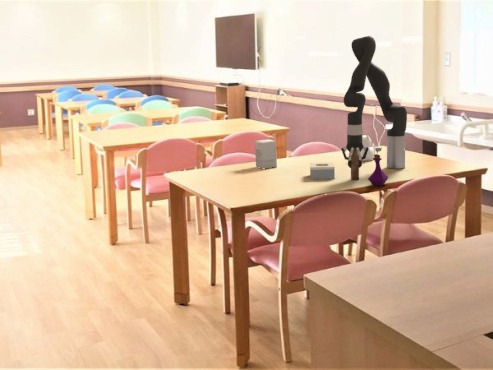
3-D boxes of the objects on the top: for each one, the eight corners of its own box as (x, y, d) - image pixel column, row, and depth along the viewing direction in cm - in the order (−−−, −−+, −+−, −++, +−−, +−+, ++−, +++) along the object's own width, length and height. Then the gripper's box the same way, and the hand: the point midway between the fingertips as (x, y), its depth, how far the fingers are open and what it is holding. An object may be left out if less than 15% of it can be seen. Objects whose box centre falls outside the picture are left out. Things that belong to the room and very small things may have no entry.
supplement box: (269, 165, 404) (269, 138, 401) (277, 167, 396) (276, 140, 393) (255, 167, 400) (254, 140, 397) (262, 169, 392) (261, 142, 389)
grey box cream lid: (333, 174, 372) (333, 162, 371) (334, 178, 360) (334, 166, 359) (310, 174, 373) (310, 163, 372) (310, 179, 361) (310, 167, 360)
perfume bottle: (382, 187, 338) (382, 149, 334) (367, 185, 342) (367, 148, 338) (388, 184, 344) (388, 147, 341) (373, 182, 348) (373, 146, 345)
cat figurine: (353, 160, 409) (353, 134, 406) (368, 157, 417) (368, 132, 413) (365, 162, 402) (364, 136, 399) (380, 159, 410) (380, 133, 406)
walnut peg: (358, 178, 359) (358, 147, 356) (359, 180, 356) (359, 148, 352) (350, 178, 360) (350, 147, 356) (351, 180, 356) (351, 148, 353)
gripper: (368, 132, 356) (368, 166, 360) (339, 132, 357) (340, 166, 361) (370, 134, 349) (370, 168, 352) (340, 134, 350) (340, 169, 353)
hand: (354, 167), depth 356 cm, fingers closed on walnut peg, 4 cm apart
